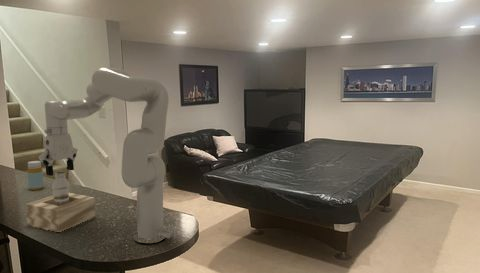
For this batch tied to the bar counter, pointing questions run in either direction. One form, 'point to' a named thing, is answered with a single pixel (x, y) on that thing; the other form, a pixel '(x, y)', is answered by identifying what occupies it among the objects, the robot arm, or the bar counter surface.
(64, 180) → the plastic bottle
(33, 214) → the well block
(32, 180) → the bottle
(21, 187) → the bar counter surface
